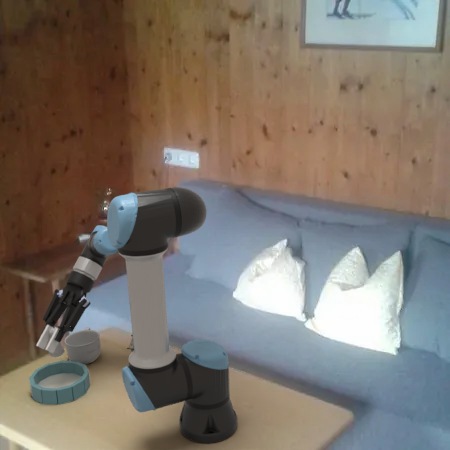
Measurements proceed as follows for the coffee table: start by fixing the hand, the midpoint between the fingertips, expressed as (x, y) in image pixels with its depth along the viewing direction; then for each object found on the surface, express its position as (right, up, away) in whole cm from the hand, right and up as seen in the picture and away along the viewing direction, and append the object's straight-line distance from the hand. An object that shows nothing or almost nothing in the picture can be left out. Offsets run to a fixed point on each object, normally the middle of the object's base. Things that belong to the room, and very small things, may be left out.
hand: (44, 349), depth 186 cm
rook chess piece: (+2, -2, +4) cm, 5 cm away
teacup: (+7, -7, +25) cm, 27 cm away
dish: (+3, -13, +7) cm, 15 cm away
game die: (+25, -7, +24) cm, 35 cm away
